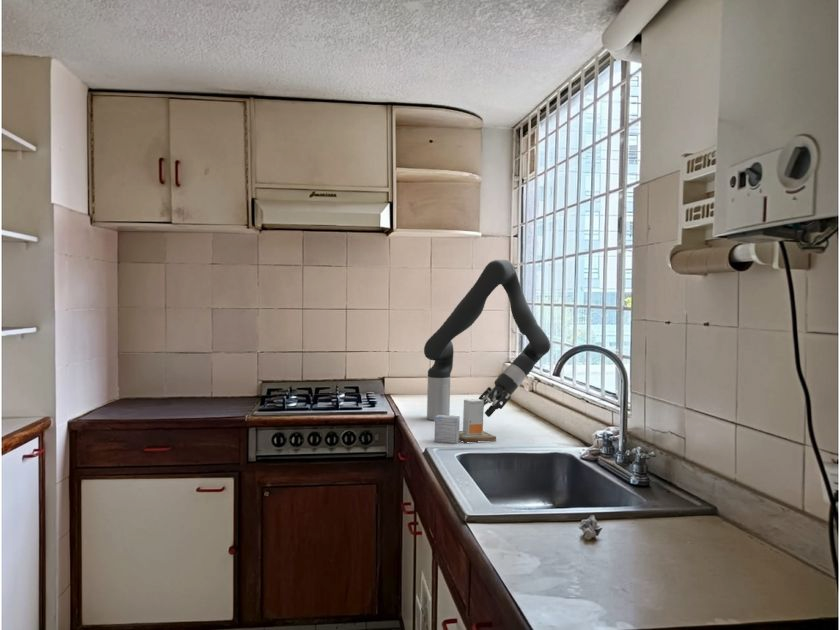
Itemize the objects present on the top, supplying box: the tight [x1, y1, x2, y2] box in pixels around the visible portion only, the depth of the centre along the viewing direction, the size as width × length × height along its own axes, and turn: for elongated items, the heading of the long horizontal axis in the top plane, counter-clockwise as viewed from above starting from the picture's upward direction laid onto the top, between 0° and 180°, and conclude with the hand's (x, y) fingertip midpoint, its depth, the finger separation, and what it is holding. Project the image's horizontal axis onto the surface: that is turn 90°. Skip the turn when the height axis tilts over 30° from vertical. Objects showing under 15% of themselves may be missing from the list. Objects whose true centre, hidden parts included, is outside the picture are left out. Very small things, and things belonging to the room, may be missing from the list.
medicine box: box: [433, 414, 461, 444], centre depth 210 cm, size 8×4×9 cm, turn 74°
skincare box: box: [462, 398, 485, 435], centre depth 215 cm, size 6×4×12 cm
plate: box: [459, 430, 497, 444], centre depth 215 cm, size 12×12×2 cm
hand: (481, 413), depth 216 cm, fingers open, 8 cm apart
